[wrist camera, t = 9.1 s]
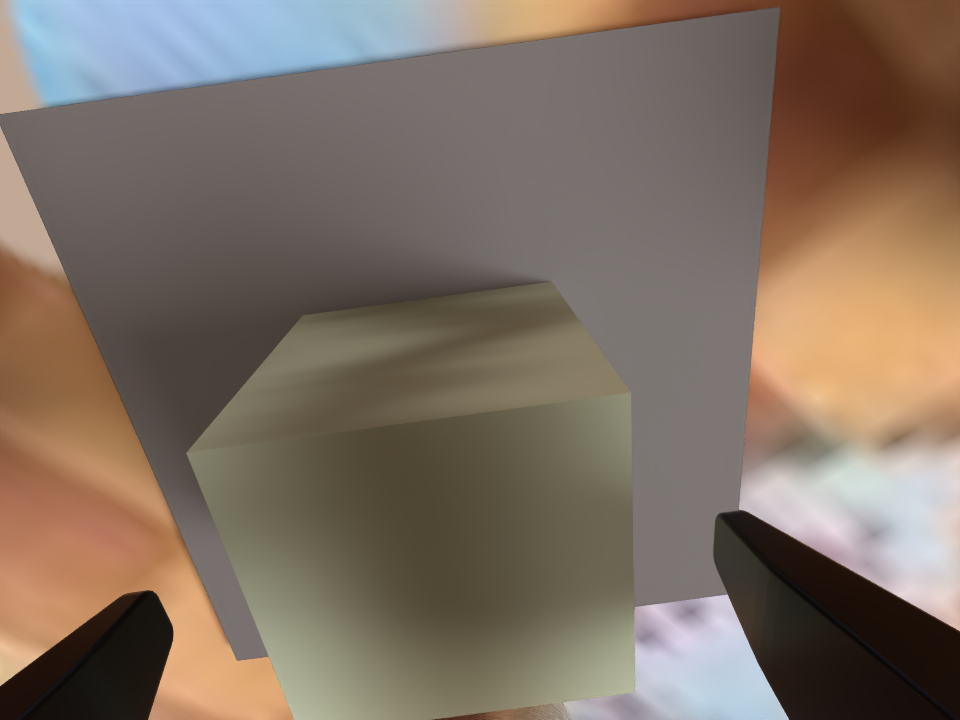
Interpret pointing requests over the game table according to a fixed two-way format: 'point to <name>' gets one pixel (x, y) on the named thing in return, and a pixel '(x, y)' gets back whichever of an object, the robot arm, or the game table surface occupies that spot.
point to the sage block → (432, 508)
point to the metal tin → (521, 713)
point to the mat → (434, 240)
